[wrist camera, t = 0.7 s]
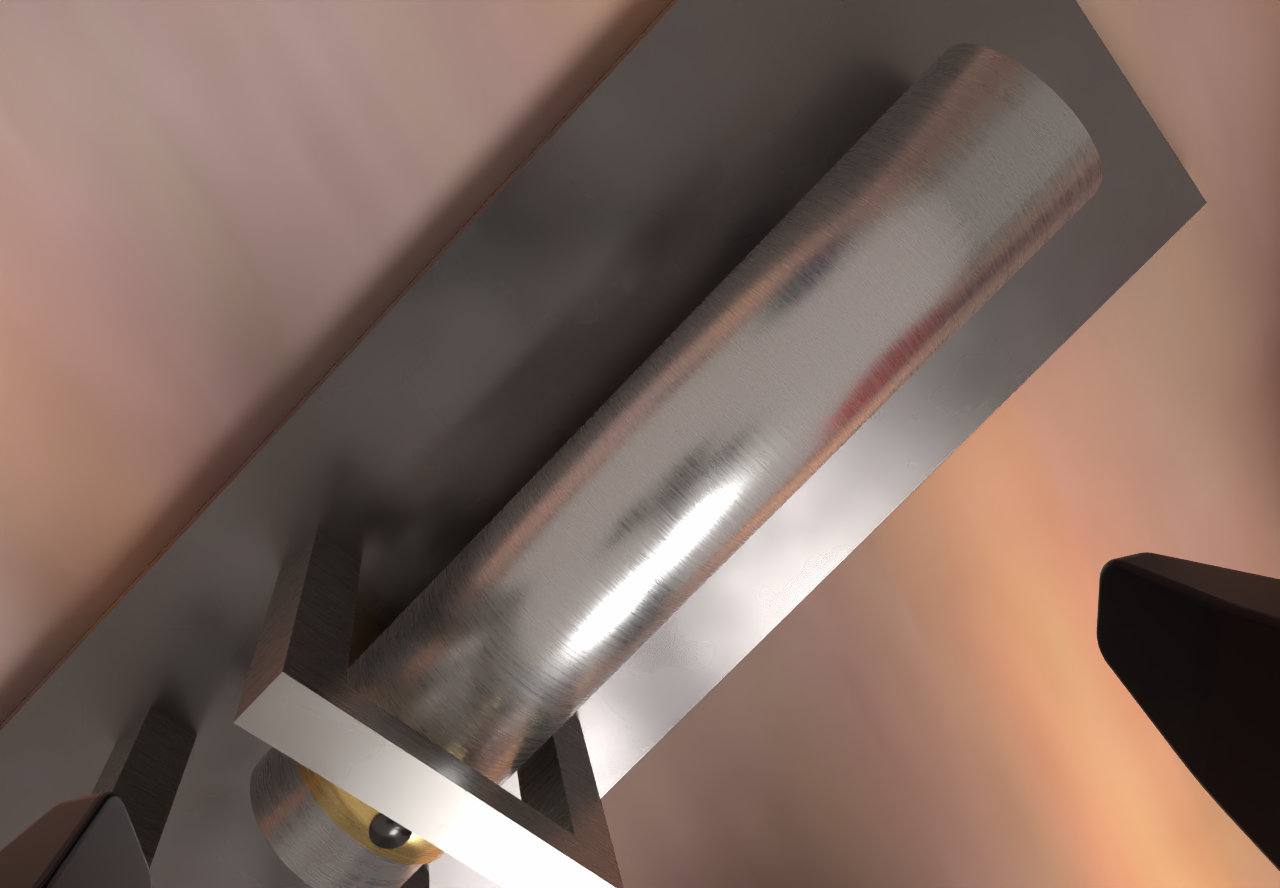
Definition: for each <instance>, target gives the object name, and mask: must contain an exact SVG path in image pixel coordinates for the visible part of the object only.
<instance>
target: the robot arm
mask: <svg viewBox="0 0 1280 888" xmlns="http://www.w3.org/2000/svg"><path fill="white" fill-rule="evenodd" d="M1097 640H1098V645H1099V648H1100V651H1101V653H1102V655H1103V657H1104V659H1105V661H1106V662H1107V664H1108V665H1109V666H1110V668H1111V669H1112V670H1113V671H1114V673H1115V674H1116V675H1117V677H1118V678H1119V679H1120V681H1121V682H1122V683H1123V685H1124V686H1125V687H1126V688H1127V690H1128V691H1129V692H1130V694H1131V695H1132V696H1133V698H1134V699H1135V700H1136V702H1137V703H1138V704H1139V705H1140V707H1141V708H1142V709H1143V711H1144V712H1145V713H1146V715H1147V716H1148V717H1149V719H1150V720H1151V721H1152V722H1153V724H1154V725H1155V726H1156V728H1157V729H1158V730H1159V732H1160V733H1161V734H1162V736H1163V737H1164V738H1165V739H1166V741H1167V742H1168V743H1169V745H1170V746H1171V747H1172V749H1173V750H1174V751H1175V753H1176V754H1177V755H1178V756H1179V758H1180V759H1181V760H1182V762H1183V763H1184V764H1185V766H1186V767H1187V768H1188V769H1189V771H1190V772H1191V773H1192V774H1193V775H1194V777H1195V778H1196V779H1197V780H1198V782H1199V783H1200V784H1201V785H1202V787H1203V788H1204V789H1205V790H1206V791H1207V792H1208V793H1209V795H1210V796H1211V797H1212V798H1213V799H1214V800H1215V801H1216V803H1217V804H1218V805H1219V806H1220V807H1221V808H1222V809H1223V810H1224V812H1225V813H1226V814H1227V815H1228V816H1229V817H1230V818H1231V819H1232V820H1233V821H1234V822H1235V823H1236V824H1237V826H1238V827H1239V828H1240V829H1241V830H1242V831H1243V832H1244V833H1245V834H1246V835H1247V836H1248V837H1249V839H1250V840H1251V841H1252V842H1253V843H1254V844H1255V845H1256V846H1257V847H1258V848H1259V849H1260V850H1261V852H1262V853H1263V854H1264V855H1265V856H1266V857H1267V858H1268V859H1269V860H1270V861H1271V862H1272V863H1273V865H1274V866H1275V867H1276V868H1277V869H1278V870H1279V871H1280V579H1275V578H1270V577H1266V576H1261V575H1256V574H1251V573H1246V572H1242V571H1237V570H1232V569H1227V568H1222V567H1217V566H1213V565H1208V564H1203V563H1198V562H1193V561H1188V560H1184V559H1179V558H1174V557H1169V556H1164V555H1159V554H1155V553H1148V552H1147V553H1138V554H1134V555H1130V556H1125V557H1121V558H1117V559H1113V560H1110V561H1108V562H1107V563H1106V564H1105V565H1104V566H1103V568H1102V571H1101V573H1100V582H1099V600H1098V618H1097ZM0 888H151V876H150V871H149V867H148V864H147V862H146V859H145V856H144V854H143V851H142V849H141V846H140V844H139V841H138V838H137V836H136V833H135V831H134V828H133V826H132V823H131V821H130V818H129V815H128V813H127V810H126V808H125V805H124V803H123V802H122V800H121V799H120V798H119V796H118V795H116V794H114V793H112V792H109V791H106V792H101V793H96V794H92V795H88V796H83V797H79V798H74V799H70V800H66V801H63V802H60V803H58V804H56V805H55V806H54V807H52V808H51V809H50V810H49V811H48V812H46V813H45V814H44V815H43V816H41V817H40V818H39V819H38V820H37V821H35V822H34V823H33V824H32V825H30V826H29V827H28V828H27V829H26V830H24V831H23V832H22V833H21V834H19V835H18V836H17V837H16V838H15V839H13V840H12V841H11V842H10V843H9V844H7V845H6V846H5V847H4V848H2V849H1V850H0Z"/></svg>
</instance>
